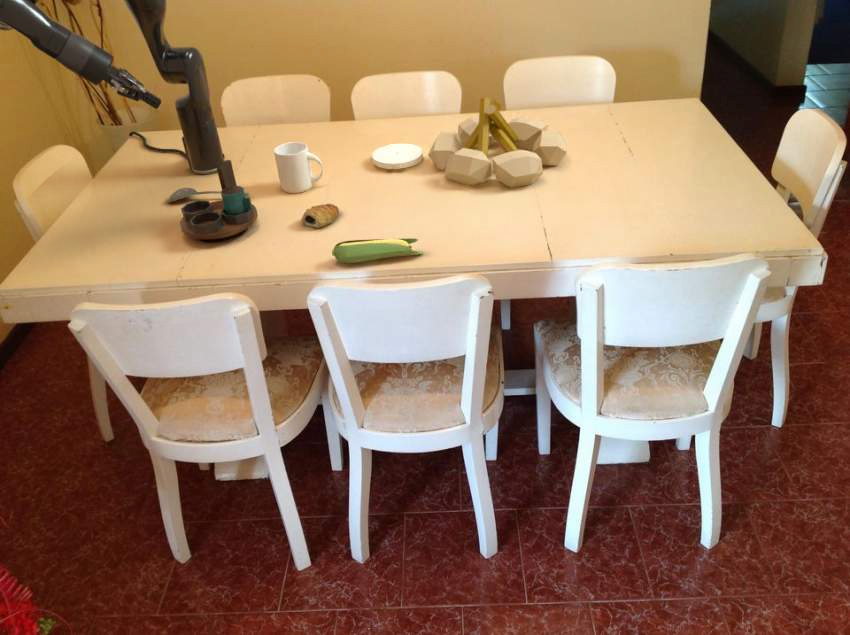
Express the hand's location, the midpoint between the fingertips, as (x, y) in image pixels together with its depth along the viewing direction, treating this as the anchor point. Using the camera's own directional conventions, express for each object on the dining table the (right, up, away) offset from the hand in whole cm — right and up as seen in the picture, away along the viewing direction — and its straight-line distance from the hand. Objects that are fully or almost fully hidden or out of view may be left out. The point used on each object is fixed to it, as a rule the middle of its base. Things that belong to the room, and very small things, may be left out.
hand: (159, 104), depth 167 cm
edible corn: (+51, -36, -7) cm, 62 cm away
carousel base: (+12, -27, +9) cm, 31 cm away
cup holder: (+12, -25, +8) cm, 29 cm away
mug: (+29, -14, +26) cm, 41 cm away
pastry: (+35, -25, +10) cm, 45 cm away
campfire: (+80, -7, +30) cm, 86 cm away
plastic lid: (+53, -6, +36) cm, 64 cm away
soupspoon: (+4, +14, 0) cm, 14 cm away
